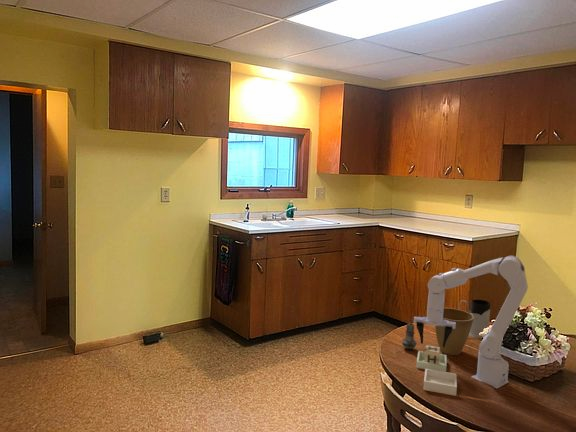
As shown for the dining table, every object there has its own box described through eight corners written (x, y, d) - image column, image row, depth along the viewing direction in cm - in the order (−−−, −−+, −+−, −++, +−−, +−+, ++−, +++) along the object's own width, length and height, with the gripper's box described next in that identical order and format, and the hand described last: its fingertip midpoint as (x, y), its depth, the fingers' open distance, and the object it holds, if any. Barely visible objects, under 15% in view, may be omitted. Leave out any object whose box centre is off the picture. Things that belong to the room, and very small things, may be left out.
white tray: (455, 382, 159) (456, 373, 159) (456, 395, 150) (456, 386, 149) (424, 376, 163) (425, 368, 162) (423, 389, 153) (423, 381, 153)
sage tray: (445, 362, 175) (446, 355, 174) (445, 374, 165) (446, 366, 165) (417, 358, 178) (418, 350, 178) (416, 369, 168) (416, 361, 168)
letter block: (424, 360, 175) (425, 344, 174) (438, 362, 173) (439, 346, 172) (424, 366, 170) (425, 349, 169) (438, 368, 168) (439, 352, 167)
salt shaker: (416, 353, 182) (418, 324, 181) (401, 352, 183) (403, 322, 182) (415, 348, 188) (417, 319, 186) (400, 346, 189) (402, 318, 188)
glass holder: (483, 340, 199) (486, 306, 197) (452, 330, 209) (455, 298, 207) (492, 335, 205) (495, 302, 203) (462, 326, 215) (464, 295, 213)
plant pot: (423, 351, 185) (426, 312, 183) (443, 342, 195) (445, 305, 193) (458, 364, 174) (461, 322, 172) (477, 354, 184) (480, 315, 182)
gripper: (414, 308, 167) (411, 345, 169) (456, 314, 163) (453, 351, 164) (415, 303, 174) (413, 338, 176) (456, 308, 169) (453, 344, 171)
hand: (432, 344), depth 171 cm, fingers open, 7 cm apart
